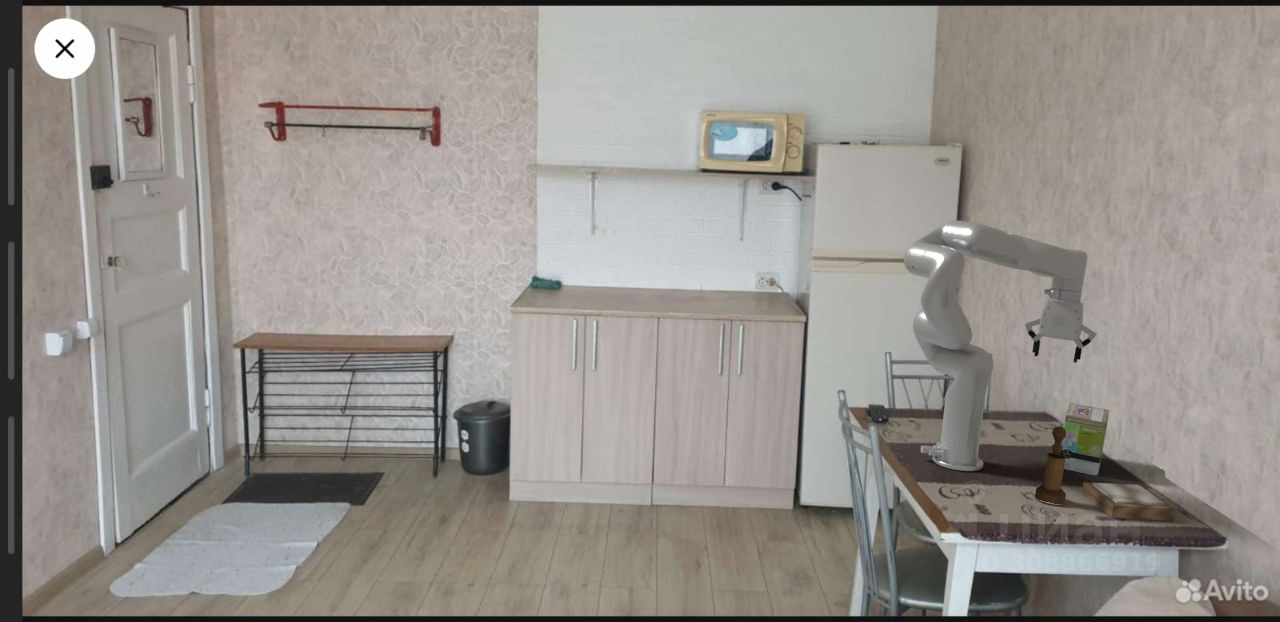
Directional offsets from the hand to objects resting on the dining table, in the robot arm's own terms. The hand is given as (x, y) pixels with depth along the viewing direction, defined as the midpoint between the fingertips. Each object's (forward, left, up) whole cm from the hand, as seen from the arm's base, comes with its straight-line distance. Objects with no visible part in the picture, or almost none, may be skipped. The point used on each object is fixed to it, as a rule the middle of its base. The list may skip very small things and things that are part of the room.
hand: (1055, 358), depth 239 cm
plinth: (+4, -36, -27) cm, 45 cm away
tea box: (+7, -7, -27) cm, 29 cm away
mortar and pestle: (-13, -34, -27) cm, 45 cm away
